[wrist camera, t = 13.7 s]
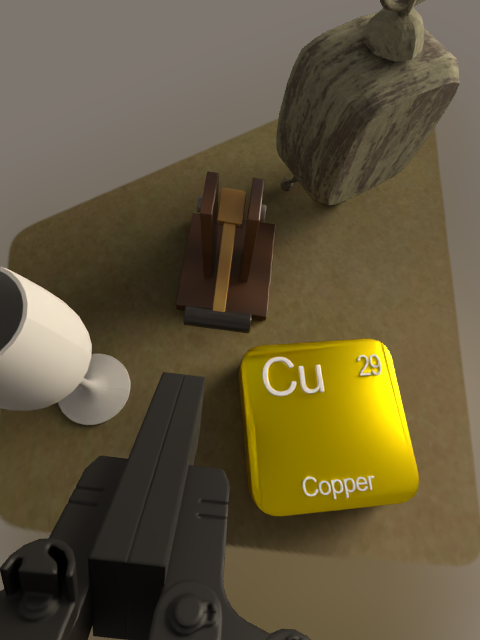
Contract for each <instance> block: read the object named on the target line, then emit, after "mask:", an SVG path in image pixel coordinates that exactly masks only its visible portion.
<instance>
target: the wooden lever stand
mask: <svg viewBox="0 0 480 640" xmlns="http://www.w3.org/2000/svg"><path fill="white" fill-rule="evenodd" d="M263 186H264V179H257V178H253V181H252V188H251V196H250V203H249V210H248V217H247V220H243V224H242V228H236V230H235V238H234V246H233V253H232V261H231V269H230V277H229V284H228V292H227V300H226V308H225V310H226V311H234V312H242V313H249V314H251V315H252V317H251V319H259V320H266V317H267V309H268V299H269V288H270V278H271V267H272V257H273V246H274V236H275V226H276V225H275V224H269V223H262V222H259V221H264V219H265V213H266V205H261V204H262V195H263ZM218 190H219V173H215V172H207V177H206V182H205V188H204V193H203V197H202V196H199V199H198V212H199V213H200V214H196V213H193V216H192V221H191V226H190V231H189V237H188V242H187V247H186V252H185V258H184V263H183V268H182V273H181V279H180V284H179V289H178V294H177V300H176V308H177V309H182V310H185V308H186V306H187V305H188V306H196V307H203V308H211V309H213V303H214V295H215V288H216V280H217V272H218V264H219V256H220V248H221V240H222V232H223V226H220V225H218V221H217V218H218Z"/></svg>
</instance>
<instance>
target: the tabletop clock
mask: <svg viewBox="0 0 480 640" xmlns="http://www.w3.org/2000/svg"><path fill="white" fill-rule="evenodd" d="M423 1H424V0H397V1H395V0H380V2H381V4H382V6H383V9H382V10H381V11H379V12H377V13H373V14H369V15H365V16H361V17H359V18H357V19H354V20H352V21H350V22H347V23H345V24H343V25H341V26H338V27H336V28H334V29H331V30H329V31H327V32H325V33H323V34H322V35H320V36H318V37H317V38H315V39H314V40H312V41H311V42H310V43H309V44H307V45H306V46H305V47H304V48H303V49H302V50H301V52H300V54H299V56H298V58H297V60H296V62H295V64H294V66H293V69H292V71H291V74H290V77H289V80H288V83H287V87H286V91H285V94H284V98H283V102H282V106H281V110H280V113H279V121H278V130H277V142H276V143H277V151H278V154H279V156H280V158H281V159H282V160H283V161H284V163H285V164H286V165H287V167H288V168H289V169H290V171H291V172H292V173H293V175H294V177H293V178H292V179H290V178H284V179H283V180H282V181H281V185H280V186H281V188H282V189H283V190H284V191H290V190H291V189H292V187H293V183H294V182H296V181H299V182H300V184H301V185H302V186H303V188H304V189H305V190H306V192H307V193H308V194H309V196H310V197H311V198H312V199H313V200H314V201H317V202H320V203H323V204H327V205H335V204H338V203H343V202H345V201H346V200H348V199H350V198H352V197H354V196H356V195H359V194H361V193H363V192H365V191H367V190H369V189H371V188H373V187H375V186H377V185H379V184H381V183H383V182H384V181H386V180H388V179H390V178H392V177H393V176H395V175H396V174H398V173H399V172H401V171H402V170H403V169H404V168H405V167H406V166H407V165H408V163H409V162H410V161H411V160H412V159H413V157H414V156H415V155H416V153H417V152H418V151H419V149H420V148H421V146H422V145H423V143H424V142H425V141H426V139H427V138H428V136H429V135H430V134H431V132H432V131H433V129H434V128H435V126H436V124H437V123H438V121H439V120H440V118H441V117H442V115H443V113H444V112H445V110H446V109H447V107H448V105H449V104H450V102H451V101H452V99H453V97H454V95H455V93H456V91H457V89H458V86H459V84H460V81H459V70H458V60H457V59H456V58H455V57H454V56H453V55H452V54H451V53H450V52H449V51H448V50H447V49H446V48H445V47H444V46H443V45H442V44H440V43H439V42H438V41H437V40H436V39H435V38H434V37H433V36H432V35H431V34H430V33H429V32H428V31H427V30H426V29H425V28H424V27H423V21H422V18H421V15H420V14H419V13H418V12H417V11H416V10H415V9H414V8H413V7H414V6H416V5H418V4H419V3H421V2H423Z"/></svg>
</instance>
